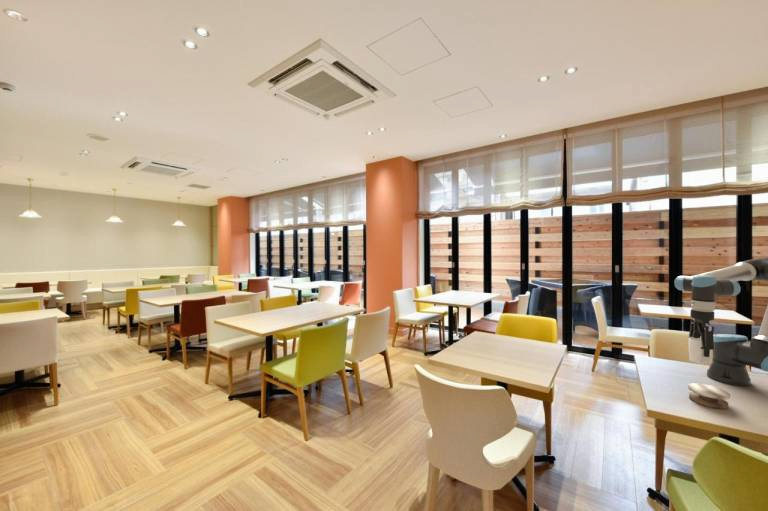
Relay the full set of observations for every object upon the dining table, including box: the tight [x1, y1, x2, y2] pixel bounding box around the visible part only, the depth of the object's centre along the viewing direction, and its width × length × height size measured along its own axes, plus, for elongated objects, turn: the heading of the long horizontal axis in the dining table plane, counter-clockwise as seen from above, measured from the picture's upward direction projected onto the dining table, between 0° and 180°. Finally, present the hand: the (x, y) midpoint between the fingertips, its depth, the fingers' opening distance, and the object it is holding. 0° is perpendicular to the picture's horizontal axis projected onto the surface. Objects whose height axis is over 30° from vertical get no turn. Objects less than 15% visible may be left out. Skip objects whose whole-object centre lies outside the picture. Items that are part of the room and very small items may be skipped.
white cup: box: [688, 336, 713, 365], centre depth 142 cm, size 8×8×10 cm
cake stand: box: [687, 382, 731, 410], centre depth 139 cm, size 13×13×6 cm
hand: (699, 360), depth 142 cm, fingers closed on white cup, 7 cm apart
